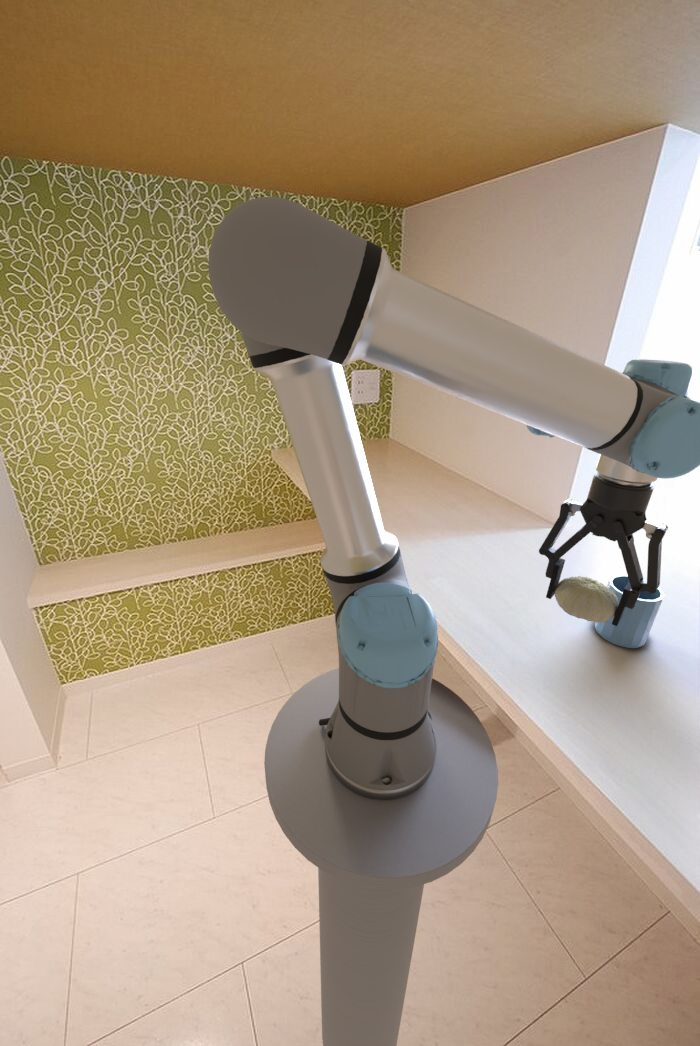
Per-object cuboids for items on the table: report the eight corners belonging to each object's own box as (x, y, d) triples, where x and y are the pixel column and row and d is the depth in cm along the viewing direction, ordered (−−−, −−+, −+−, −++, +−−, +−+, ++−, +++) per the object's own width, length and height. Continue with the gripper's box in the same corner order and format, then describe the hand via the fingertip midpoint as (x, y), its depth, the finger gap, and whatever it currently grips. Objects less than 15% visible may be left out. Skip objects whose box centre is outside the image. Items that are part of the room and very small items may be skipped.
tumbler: (589, 633, 80) (603, 587, 75) (601, 613, 85) (615, 569, 81) (640, 655, 75) (659, 607, 70) (649, 632, 80) (667, 587, 76)
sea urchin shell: (586, 577, 76) (620, 566, 68) (600, 623, 73) (637, 617, 66) (540, 582, 74) (570, 571, 66) (552, 629, 71) (585, 624, 64)
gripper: (724, 491, 57) (665, 627, 67) (553, 455, 70) (525, 573, 80) (719, 507, 52) (656, 652, 62) (536, 464, 65) (507, 589, 75)
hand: (582, 607), depth 71 cm, fingers closed on sea urchin shell, 9 cm apart
